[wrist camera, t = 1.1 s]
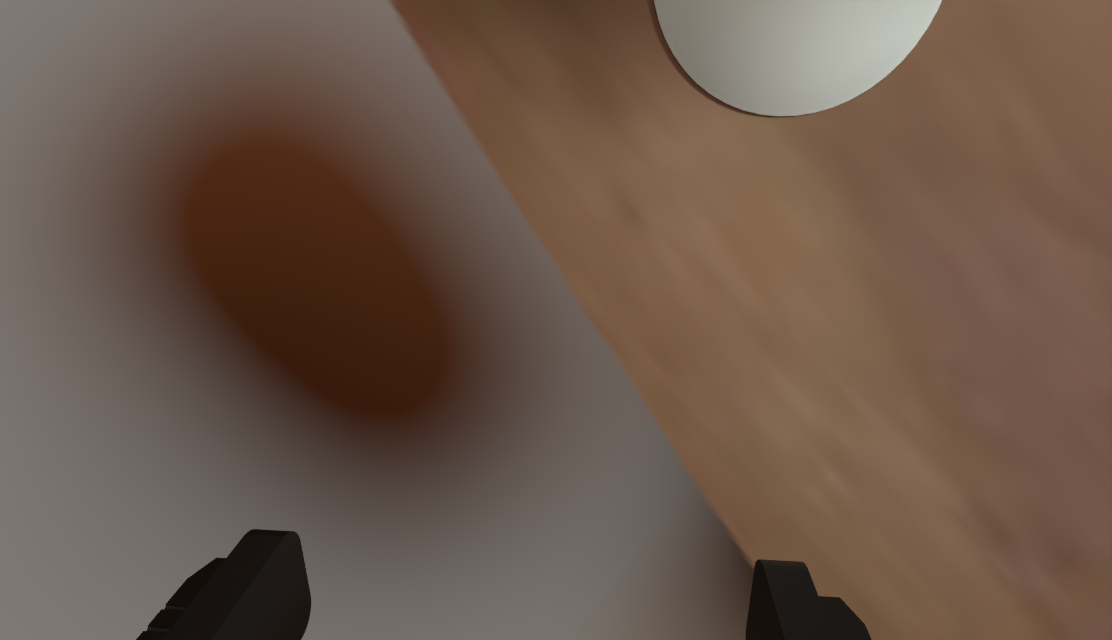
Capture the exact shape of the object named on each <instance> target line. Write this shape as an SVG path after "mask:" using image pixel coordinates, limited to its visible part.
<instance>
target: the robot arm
mask: <svg viewBox="0 0 1112 640" xmlns="http://www.w3.org/2000/svg"><path fill="white" fill-rule="evenodd" d="M310 609H311V595H310V589H309V584H308V579H307V573H306V568H305V563H304V557H303V552H302V547H301V541H300V538H299V536H298V534H297V533H296V532H293V531H277V530H260V529H253V530H250V531H249V532H247V533H246V534H245V535H244V537H243V538H242V539H241V540H240V542H239V543H238V544H237V545H236V547H235V548H234V549H233V550H232V552H231V553H230V554H229V556H228V557H227V558H216V559H214V560H213V561H211V562H210V563H209V564H207V565H206V566H204V567H203V568H202V569H200V570H199V571H197V572H196V573H195V574H194V575H192V576H190V577H189V578H188V579H187V580H186V581H185V582H184V583H183V584H182V586H181V587H180V588H179V589H178V590H177V592H176V593H175V594H174V595H173V596H172V597H171V599H170V600H169V601H168V602H167V603H166V607H165V609H164V610H161V611H160V612H159V613H158V614H157V615H156V617H155V618H154V619H153V620H152V621H151V623H150V624H149V625H148V629H147V631H143V632H142V633H141V635H140V636H139V637H138V638H137V639H136V640H301V639H302V637H303V635H304V633H305V630H306V627H307V624H308V621H309V616H310V611H311V610H310ZM746 640H871V637H870V635H869V633H868V631H867V628H866V626H865V624H864V623H863V622H862V621H861V620H860V619H859V618H858V617H857V616H856V614H855V613H854V612H853V611H852V610H851V609H850V608H849V607H848V606H847V605H846V604H845V603H844V602H843V600H842V599H841V598H839V597H823V596H818V594H817V591H816V589H815V586H814V584H813V581H812V578H811V576H810V573H809V571H808V568H807V566H806V565H805V564H804V563H803V562H795V561H777V560H760V559H759V560H757V561H756V563H755V567H754V574H753V581H752V589H751V595H750V603H749V610H748V618H747V624H746Z"/></svg>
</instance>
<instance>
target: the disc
mask: <svg viewBox="0 0 1112 640" xmlns="http://www.w3.org/2000/svg"><path fill="white" fill-rule="evenodd" d="M941 1H942V0H654V3H655V8H656V12H657V17H658V21H659V24H660V26H661V29H662V32H663V35H664V37H665V40H666V42H667V44H668V45H669V47H670V49H671V51H672V53H673V55H674V57H675V58H676V59H677V61H678V62H679V64H680V65H681V66H682V68H683V69H684V71H685V72H686V73H687V74H688V75H689V76H690V77H691V78H692V79H693V80H694V81H695V82H696V83H697V84H698V85H699V86H700V87H702V88H703V89H704V90H705V91H707V92H708V93H709V94H711V95H712V96H714V97H716V98H717V99H719V100H721V101H722V102H724V103H726V104H729V105H731V106H733V107H736V108H738V109H741V110H744V111H748V112H752V113H756V114H761V115H770V116H797V115H803V114H810V113H815V112H819V111H822V110H825V109H829V108H832V107H835V106H837V105H839V104H842V103H844V102H846V101H849V100H851V99H853V98H854V97H856V96H858V95H860V94H861V93H863V92H865V91H867V90H868V89H870V88H871V87H872V86H874V85H875V84H876V83H878V82H879V81H880V80H882V79H883V78H885V77H886V76H887V75H888V74H889V73H890V72H891V71H892V70H893V69H894V68H895V67H897V66H898V65H899V64H900V63H901V62H902V61H903V59H904V58H905V57H906V56H907V55H908V54H909V53H910V51H911V50H912V49H913V48H914V47H915V46H916V44H917V43H918V41H919V40H920V38H921V37H922V36H923V34H924V33H925V31H926V30H927V28H928V27H929V25H930V23H931V21H932V19H933V17H934V16H935V14H936V12H937V10H938V8H939V6H940V4H941Z"/></svg>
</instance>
